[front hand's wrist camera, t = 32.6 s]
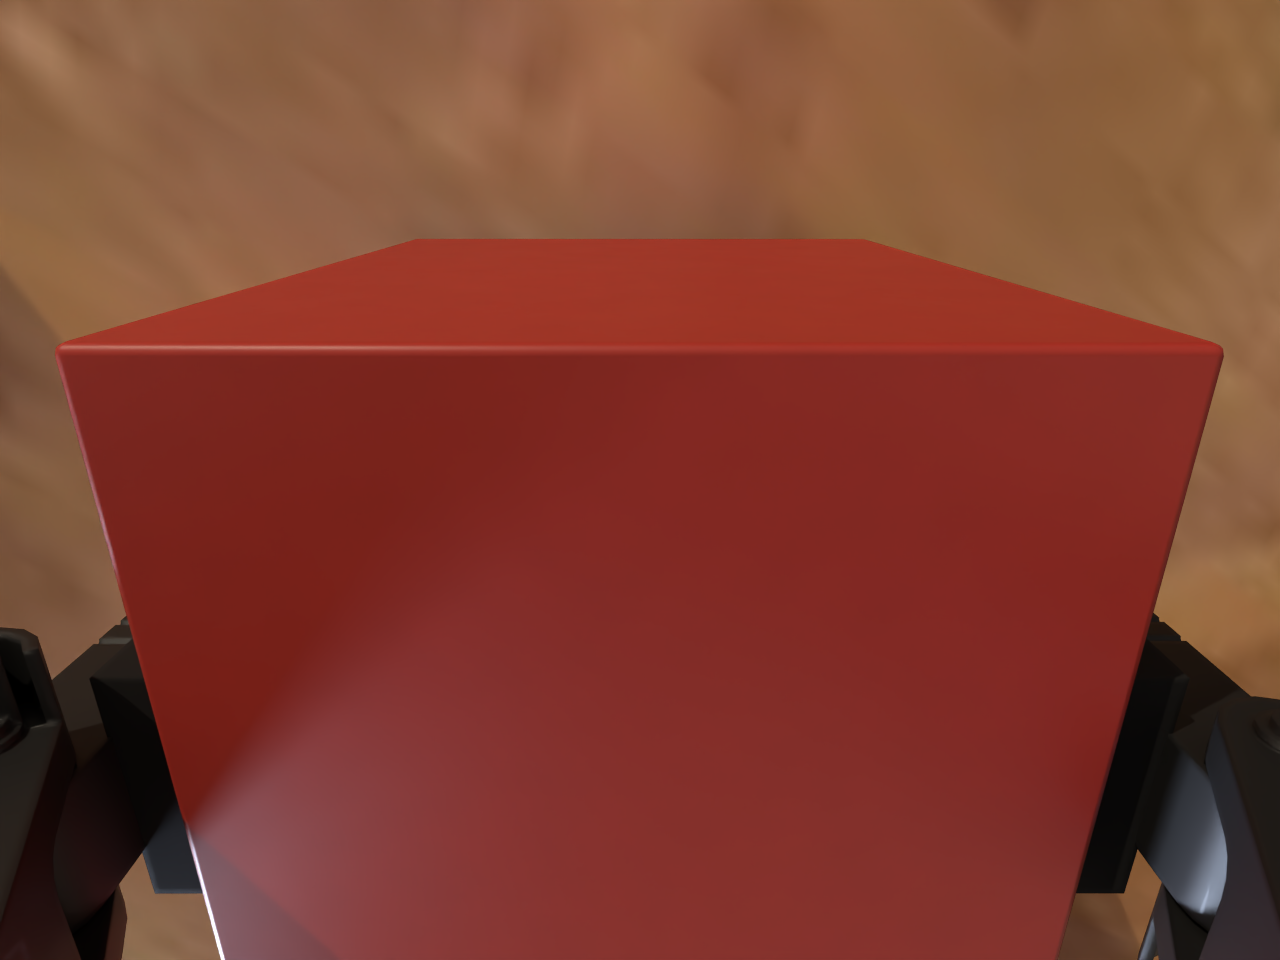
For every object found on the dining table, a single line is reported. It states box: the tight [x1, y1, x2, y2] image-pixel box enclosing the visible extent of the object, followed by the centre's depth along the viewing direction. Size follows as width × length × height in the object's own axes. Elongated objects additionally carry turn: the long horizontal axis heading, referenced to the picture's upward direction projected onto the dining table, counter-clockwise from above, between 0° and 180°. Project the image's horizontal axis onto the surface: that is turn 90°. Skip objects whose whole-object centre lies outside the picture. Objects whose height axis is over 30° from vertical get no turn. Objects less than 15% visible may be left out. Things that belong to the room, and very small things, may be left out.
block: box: [55, 239, 1224, 960], centre depth 12 cm, size 9×9×10 cm
